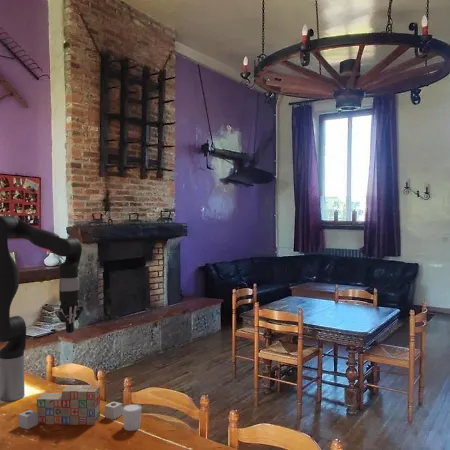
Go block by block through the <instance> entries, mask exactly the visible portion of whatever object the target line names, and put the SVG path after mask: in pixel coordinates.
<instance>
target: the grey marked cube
mask: <svg viewBox="0 0 450 450" xmlns="http://www.w3.org/2000/svg"><path fill="white" fill-rule="evenodd" d="M38 425H39V424H38V412H37V411H35V410H32V409H28V410H26V411H24V412H21V413H19V414H18V427H19V428H21V429H22V428H23V429H26V430H29V429H31V428H34V427H35V426H38Z"/></svg>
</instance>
